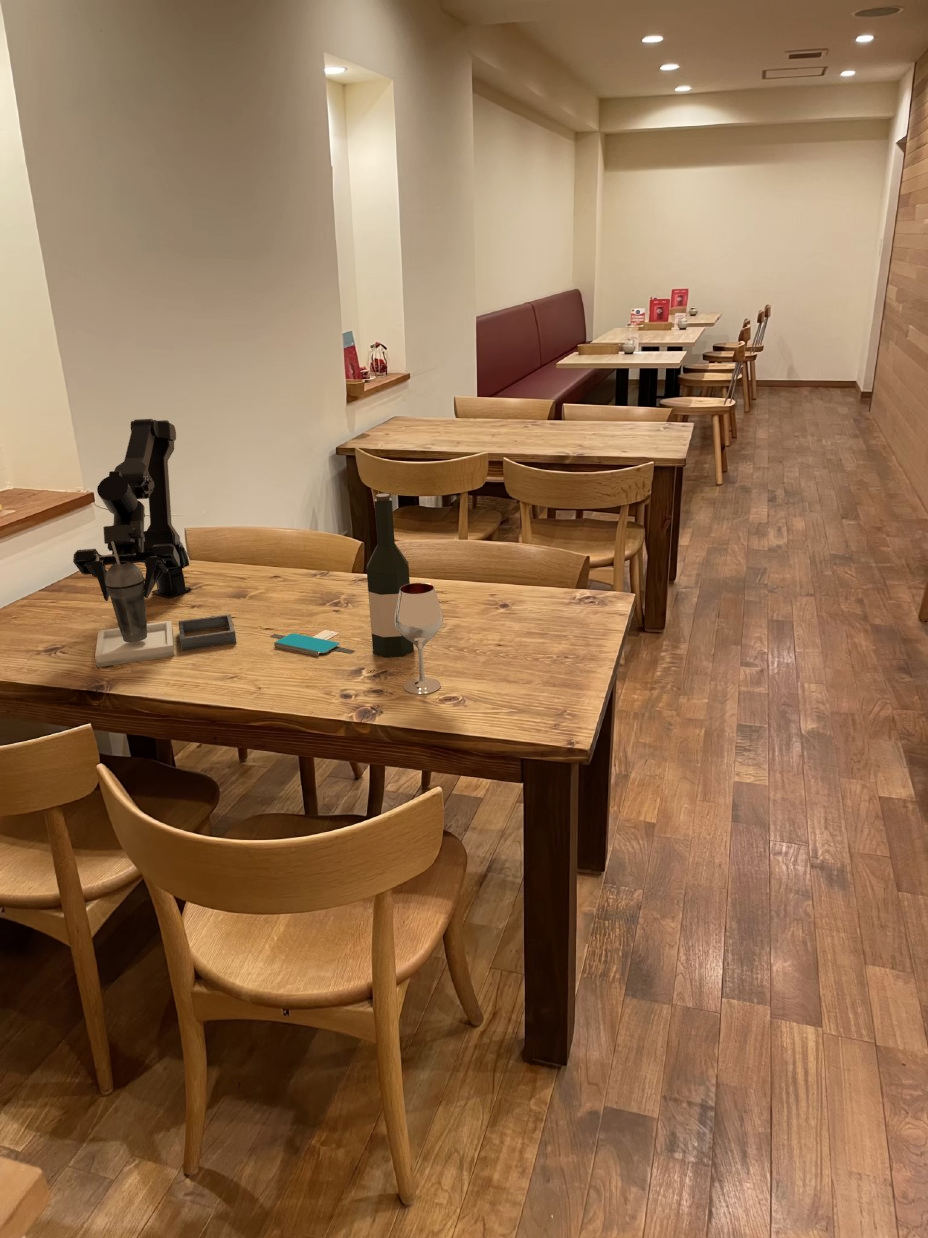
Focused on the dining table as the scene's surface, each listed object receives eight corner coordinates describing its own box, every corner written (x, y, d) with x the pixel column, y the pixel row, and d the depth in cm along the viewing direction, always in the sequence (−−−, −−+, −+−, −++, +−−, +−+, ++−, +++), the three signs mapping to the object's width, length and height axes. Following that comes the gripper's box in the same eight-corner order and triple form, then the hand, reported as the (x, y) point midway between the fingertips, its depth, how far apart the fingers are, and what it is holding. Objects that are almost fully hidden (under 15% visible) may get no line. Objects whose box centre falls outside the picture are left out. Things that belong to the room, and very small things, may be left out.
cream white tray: (97, 667, 168) (94, 656, 167) (100, 640, 181) (98, 630, 180) (174, 655, 172) (172, 645, 171) (173, 630, 185) (171, 620, 184)
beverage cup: (162, 634, 177) (145, 536, 170) (134, 647, 171) (115, 547, 164) (136, 628, 180) (118, 532, 173) (107, 641, 174) (88, 542, 167)
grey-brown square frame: (181, 651, 174) (180, 639, 173) (180, 632, 183) (178, 621, 182) (236, 643, 177) (234, 631, 176) (232, 625, 186) (230, 613, 185)
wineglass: (398, 678, 159) (392, 581, 153) (444, 675, 160) (440, 579, 153) (399, 698, 151) (392, 598, 145) (447, 695, 152) (442, 595, 145)
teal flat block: (373, 642, 176) (372, 634, 176) (336, 665, 167) (335, 657, 166) (294, 627, 186) (293, 619, 185) (254, 647, 176) (253, 639, 176)
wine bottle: (381, 661, 166) (369, 503, 155) (365, 646, 173) (352, 493, 162) (422, 652, 170) (413, 496, 159) (404, 637, 177) (394, 487, 166)
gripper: (65, 509, 169) (60, 584, 163) (167, 503, 171) (165, 576, 165) (85, 537, 179) (80, 609, 173) (180, 531, 181) (179, 601, 175)
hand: (126, 598), depth 171 cm, fingers closed on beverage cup, 7 cm apart
